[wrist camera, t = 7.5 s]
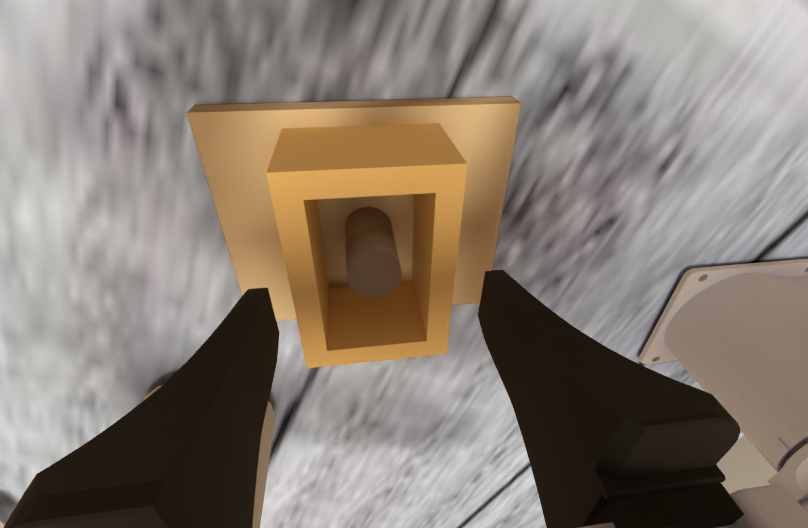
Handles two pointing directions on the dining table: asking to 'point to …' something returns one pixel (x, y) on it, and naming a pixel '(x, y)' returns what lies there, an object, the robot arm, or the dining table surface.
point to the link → (362, 177)
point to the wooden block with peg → (357, 216)
